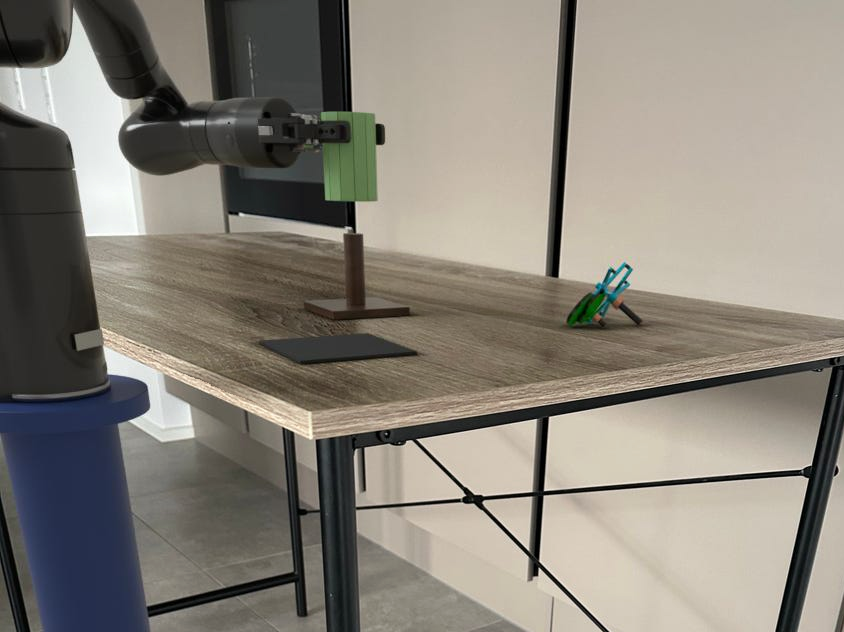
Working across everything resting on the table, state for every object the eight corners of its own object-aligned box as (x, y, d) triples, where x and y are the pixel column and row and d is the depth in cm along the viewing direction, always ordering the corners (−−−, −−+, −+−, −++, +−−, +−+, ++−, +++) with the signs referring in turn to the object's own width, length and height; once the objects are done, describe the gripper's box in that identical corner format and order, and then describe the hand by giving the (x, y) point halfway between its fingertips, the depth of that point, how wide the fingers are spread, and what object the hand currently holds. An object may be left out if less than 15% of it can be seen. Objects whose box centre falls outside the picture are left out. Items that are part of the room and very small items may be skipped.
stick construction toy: (600, 296, 117) (629, 246, 111) (642, 332, 117) (673, 285, 110) (547, 334, 110) (574, 284, 104) (590, 374, 110) (621, 326, 103)
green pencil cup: (337, 201, 107) (333, 111, 103) (318, 199, 112) (313, 113, 108) (385, 201, 110) (383, 113, 106) (364, 199, 114) (362, 115, 110)
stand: (333, 320, 111) (329, 237, 107) (304, 309, 119) (299, 231, 114) (410, 315, 115) (408, 235, 111) (376, 305, 123) (374, 230, 119)
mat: (300, 364, 87) (300, 360, 86) (259, 343, 96) (259, 340, 96) (417, 354, 92) (417, 351, 92) (367, 335, 101) (367, 333, 101)
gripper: (207, 93, 107) (324, 89, 99) (291, 101, 118) (401, 99, 110) (214, 166, 110) (328, 169, 102) (295, 168, 121) (403, 170, 114)
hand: (366, 133), depth 106 cm, fingers closed on green pencil cup, 6 cm apart
